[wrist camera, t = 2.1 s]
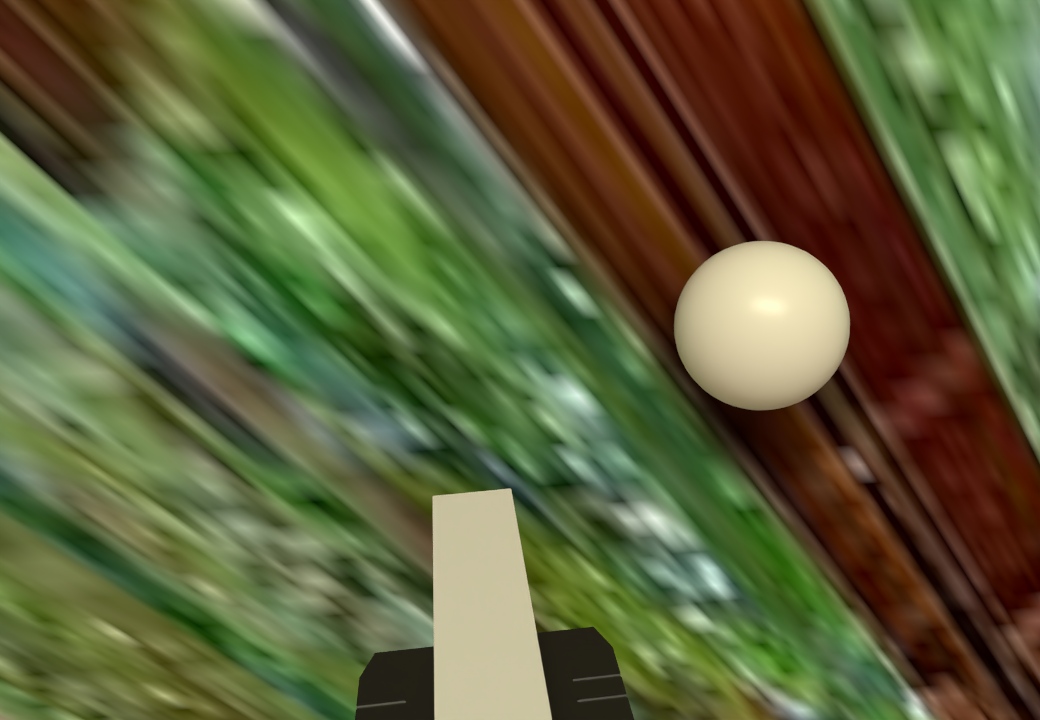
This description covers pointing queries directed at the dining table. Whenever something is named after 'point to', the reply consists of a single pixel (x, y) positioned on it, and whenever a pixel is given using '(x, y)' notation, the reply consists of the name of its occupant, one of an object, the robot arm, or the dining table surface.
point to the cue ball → (761, 325)
